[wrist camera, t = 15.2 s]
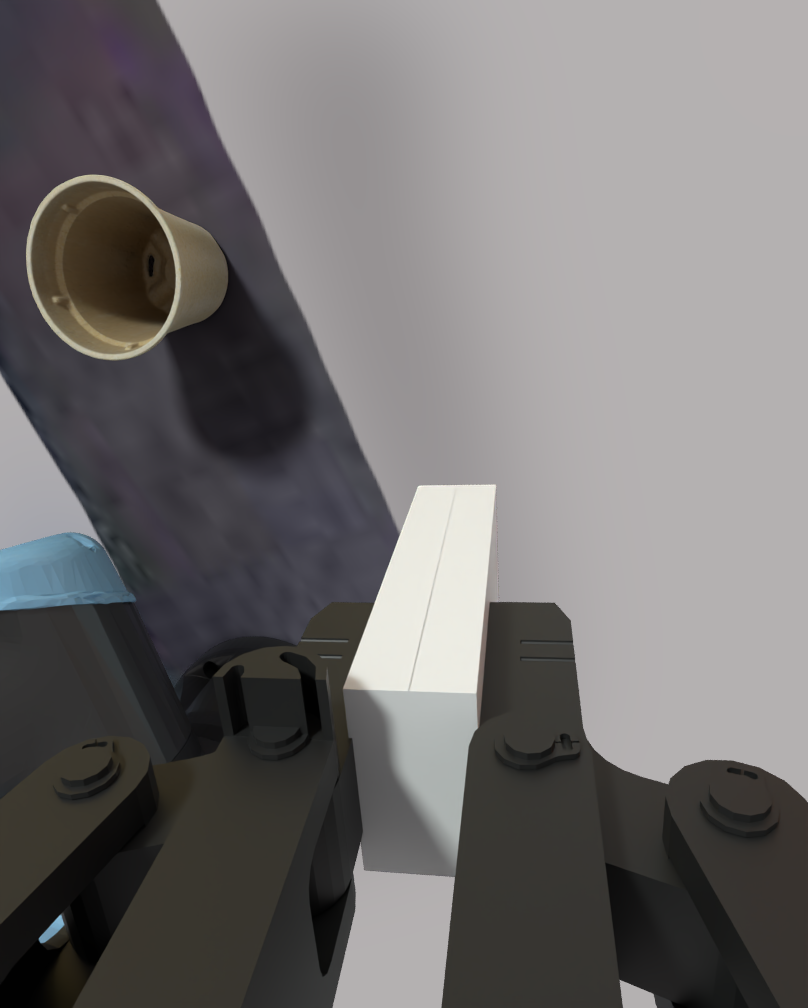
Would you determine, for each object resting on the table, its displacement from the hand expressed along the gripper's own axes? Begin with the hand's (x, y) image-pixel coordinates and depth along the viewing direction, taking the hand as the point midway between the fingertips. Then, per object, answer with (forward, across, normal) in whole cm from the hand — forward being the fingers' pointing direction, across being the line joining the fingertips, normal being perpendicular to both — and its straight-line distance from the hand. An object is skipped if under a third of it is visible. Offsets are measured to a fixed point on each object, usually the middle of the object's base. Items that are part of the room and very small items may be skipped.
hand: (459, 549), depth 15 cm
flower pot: (+34, -20, +4) cm, 39 cm away
